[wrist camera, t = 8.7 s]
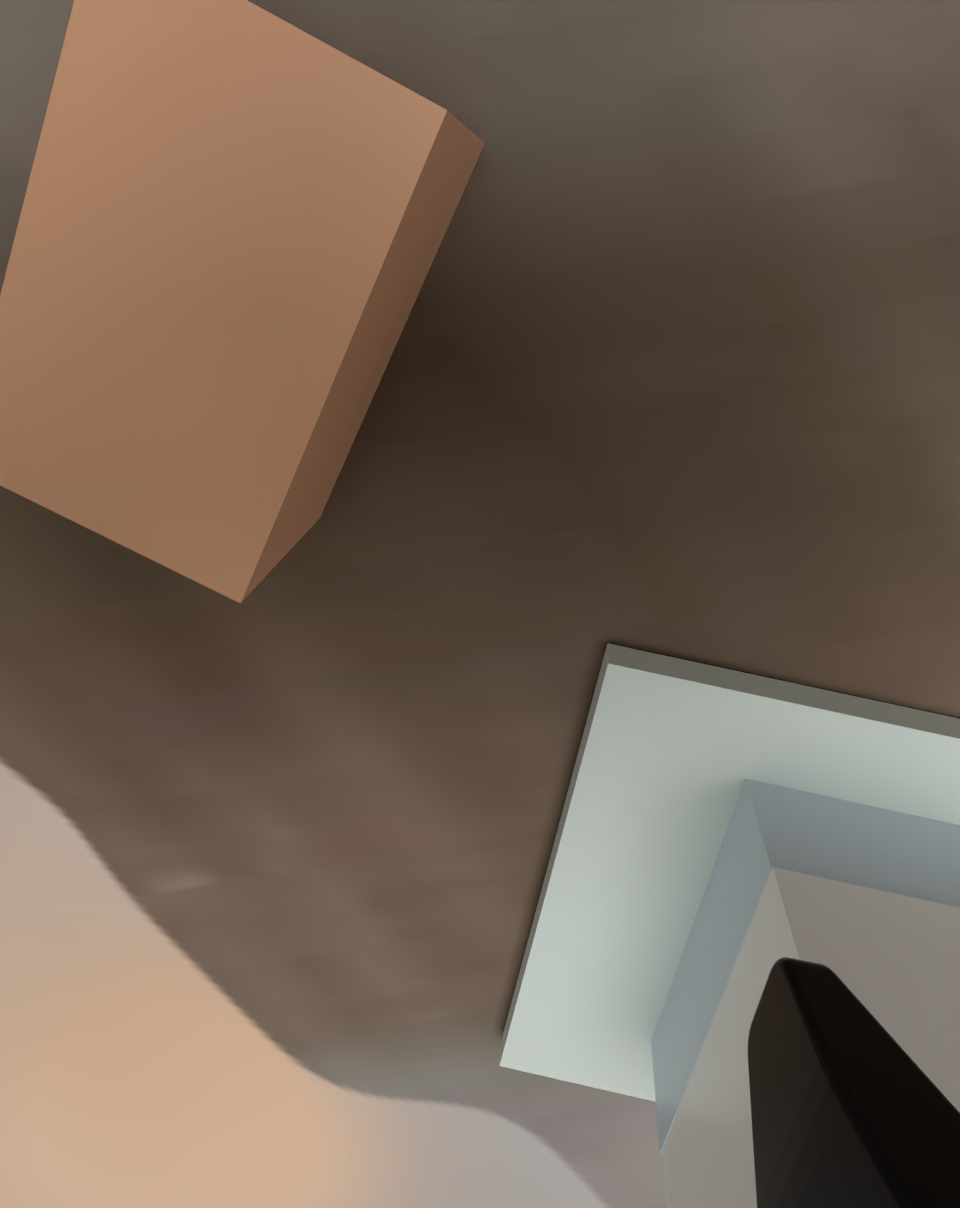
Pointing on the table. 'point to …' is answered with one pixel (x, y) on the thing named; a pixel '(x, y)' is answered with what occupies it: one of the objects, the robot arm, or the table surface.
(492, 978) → the table surface
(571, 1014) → the baseplate
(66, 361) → the terracotta brick
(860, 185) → the table surface
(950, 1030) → the ivory brick
